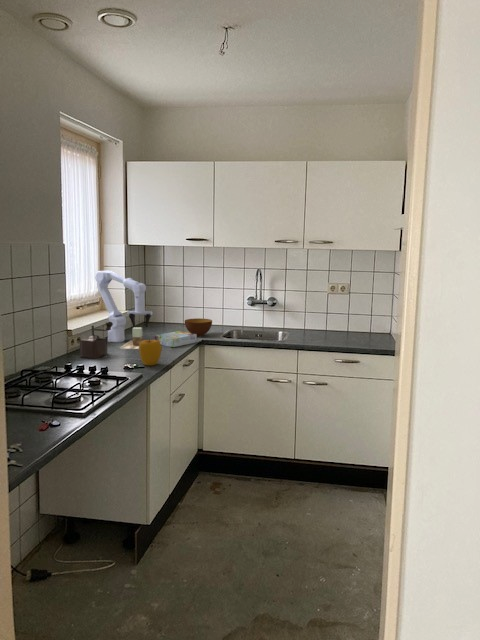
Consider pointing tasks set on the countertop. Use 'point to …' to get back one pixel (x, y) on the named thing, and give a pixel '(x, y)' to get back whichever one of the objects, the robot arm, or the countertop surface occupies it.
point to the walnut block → (137, 340)
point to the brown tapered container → (94, 344)
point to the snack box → (176, 338)
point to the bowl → (198, 326)
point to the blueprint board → (129, 345)
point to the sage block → (137, 331)
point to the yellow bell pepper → (150, 352)
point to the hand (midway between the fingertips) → (140, 326)
